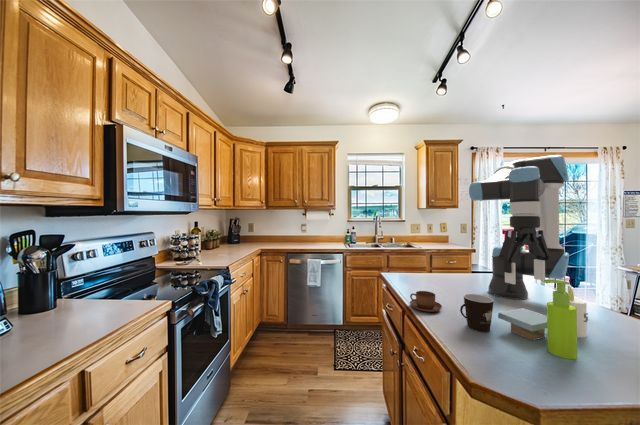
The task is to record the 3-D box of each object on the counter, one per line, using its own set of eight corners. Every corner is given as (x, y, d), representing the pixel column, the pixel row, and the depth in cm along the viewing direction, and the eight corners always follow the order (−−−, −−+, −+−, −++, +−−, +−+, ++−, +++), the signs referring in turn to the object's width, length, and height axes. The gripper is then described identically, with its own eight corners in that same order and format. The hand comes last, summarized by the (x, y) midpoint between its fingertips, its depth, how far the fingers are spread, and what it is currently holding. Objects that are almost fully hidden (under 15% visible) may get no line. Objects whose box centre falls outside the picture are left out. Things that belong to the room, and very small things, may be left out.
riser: (523, 328, 82) (523, 316, 82) (544, 337, 76) (544, 324, 76) (511, 331, 80) (511, 319, 80) (531, 340, 75) (531, 327, 75)
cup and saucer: (410, 312, 96) (410, 296, 97) (409, 302, 108) (409, 288, 108) (444, 316, 93) (444, 300, 93) (439, 305, 104) (439, 290, 104)
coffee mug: (484, 322, 87) (484, 294, 87) (500, 334, 78) (499, 303, 78) (450, 321, 88) (450, 293, 88) (461, 332, 79) (461, 301, 79)
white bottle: (581, 339, 75) (580, 290, 75) (554, 330, 81) (554, 284, 81) (592, 335, 77) (591, 288, 78) (565, 326, 83) (564, 282, 84)
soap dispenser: (538, 345, 72) (538, 276, 72) (569, 349, 69) (568, 278, 69) (549, 355, 66) (548, 281, 66) (582, 361, 64) (581, 284, 64)
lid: (523, 313, 85) (523, 308, 85) (558, 325, 75) (558, 319, 75) (498, 317, 81) (498, 312, 81) (532, 331, 72) (532, 325, 72)
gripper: (537, 215, 86) (538, 275, 86) (484, 215, 79) (485, 281, 78) (564, 215, 79) (564, 281, 79) (508, 215, 72) (509, 288, 71)
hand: (525, 281), depth 79 cm, fingers open, 13 cm apart
